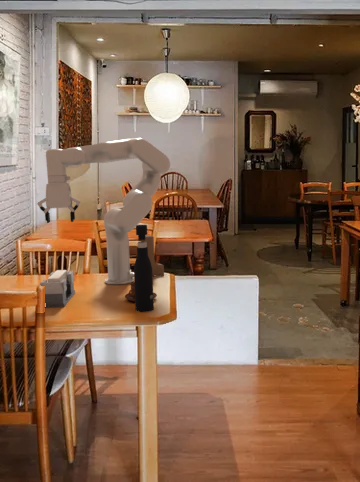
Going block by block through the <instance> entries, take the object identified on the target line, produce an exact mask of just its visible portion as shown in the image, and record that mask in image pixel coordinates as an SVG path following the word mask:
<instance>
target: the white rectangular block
mask: <svg viewBox="0 0 360 482" xmlns="http://www.w3.org/2000/svg"><path fill="white" fill-rule="evenodd" d="M67 271H68V270H66V269H58V270H57V269H56V270H55V272H54V273H53V274H52V275H51V276H50V275H49V277H48V278H47V283H48V282H61V281H62V280H63V279H66V284H67V283H68V280H67Z"/></svg>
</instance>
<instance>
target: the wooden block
mask: <svg viewBox="0 0 360 482" xmlns="http://www.w3.org/2000/svg"><path fill="white" fill-rule="evenodd" d="M145 237H146V240H145V242H146V243H147V247H148V256H149V259H150V262H151V265H152V273H153V277H155V276H154V275H159V276H164V275H165V265H164V264H161V263H157V262H156V259H155V240H154V239H155V238H154V236H153V235H149V234H147V235H145ZM140 242H142V241H140ZM163 274H164V275H163Z"/></svg>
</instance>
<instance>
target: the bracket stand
mask: <svg viewBox="0 0 360 482" xmlns="http://www.w3.org/2000/svg"><path fill="white" fill-rule="evenodd" d="M55 271H56V270H55ZM55 271H52V272H50V274H49V277H50V276H51V275H52V274H53V273H54V272H55ZM67 280H68V283H67V284H66V279H63V280H62V281H61V282H48V279H43V280H42V281H41V282H39V286H40V285H41V286H45V303H46V307H45V308H65V307H66V306H67V304H68V303H69V302H70V300H71V299H72V298H73V297H74V295H75V294H76V290H75V287H74V285H75V284H74V282H75V271H74V270H67Z"/></svg>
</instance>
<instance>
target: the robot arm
mask: <svg viewBox="0 0 360 482" xmlns="http://www.w3.org/2000/svg"><path fill="white" fill-rule="evenodd" d="M45 159H46V161H45V162H46V172H47V173H46V174H47V175H46V176H47V183H46V185H45V197H44V198H43V199H42V200H39V201H37V203H36V205H37V206H38V208H39V209H40V210H41V211H42V212H43V213H44V217H45V219H44V220H45V222H46V223H47V224H49V223H50V222H51V215H50V212H49V211H50V210H51V209H65V208H67V209H69V210H70V212H69V213H70V214H69V215H70V222H71V223H73V222H74V221H75V220H76V215H75V212H76V210H77V209H78V208H79V206H80V204H81V201H82V200H80V199H78V198H76V197H73V196H72V189H71V186H70V182H68V181H70V180H71V176H68V175H67V167H79V166H83V165H86V164H87V165H88V164H104V163H106V164H107V163H108V164H109V163H113V162H120V161H126V160H132V159H133V160H134V159H135V160H136V159H138V160H139V161H140V162H141V167H142V176H141V178H140V180H139V181H138V182H137V183H136V184H135V185H134V186H133V187H132V188H131V189H130V190H129V191H128V193H127V194H125V196H124V197H123V199H122V206H123V208H118V207H117V208H116V207H115V208H111V209H109V210H108V211H106V213H105V214H104V217H103V224H104V231H105V238H106V258H107V276H108V277H107V278H105V279H104V283H105V284H108V285H126V284H132V283H134V271H132V269H131V262H130V240H129V239H130V238H129V232H131V231H133V230H134V229H136V225H140V223H141V221H142V220H143V219H145V217H146V216H147V215H148V214H149V213H150V211H151V209H152V207H153V199H152V197H153V196H154V195H155V194H156V193H157V191H158V189H159V187H160V185H161V175H163V174H166V173H168V171H169V170H170V167H171V162H170V161H171V160H170V158H169V157H168V156H167V155H166V154H165V153H164V152H162V150H160V149H158V148H157V147H156V146H154V145H153V144H152V143H151V142H149V141H148V140H146V139H145V138H143V137H142V138H141V137H135V138H125V139H124V138H123V139H119V140H112V141H111V140H110V141H104V142H99V143H95V144H90V145H89V144H87V145H83V146H75V147H74V146H73V147H68V148H64V149H62V148H50V149H49V148H48V149H46V151H45ZM73 202H75V205H74V206H73ZM43 203H45V206H46V208H45V207H44V205H43Z"/></svg>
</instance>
